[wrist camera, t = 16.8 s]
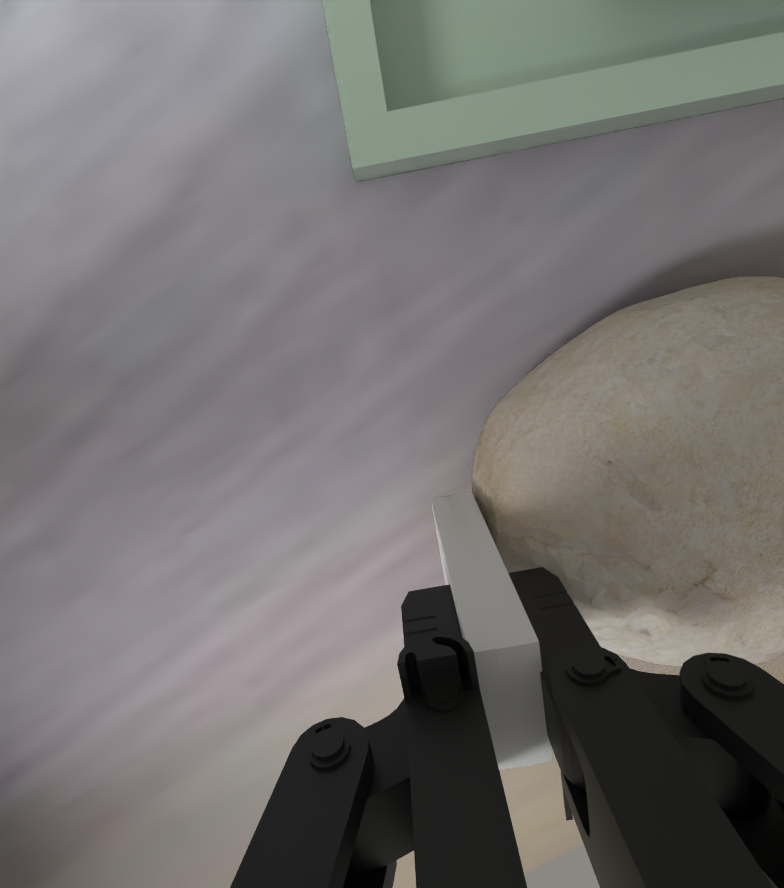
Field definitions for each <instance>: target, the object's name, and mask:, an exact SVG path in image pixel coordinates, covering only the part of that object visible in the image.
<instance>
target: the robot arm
mask: <svg viewBox="0 0 784 888" xmlns="http://www.w3.org/2000/svg"><path fill="white" fill-rule="evenodd" d="M431 504H432V510H433V515H434V521H435V527H436V533H437V539H438V544H439V550H440V556H441V562H442V568H443V573H444V579H445V584H446V585H444V586H438V587H432V588H427V589H421V590H415V591H410V592H408V594H407V596H406V598H405V600H404V602H403V604H402V606H401V609H402V621H403V634H404V648H403V650H402V651H401V652H400V654H399V659H398V663H397V665H398V669H399V674H400V679H401V683H402V688H403V693H404V699H403V701H402V702H401V704H400V705H399V706H398V708H397V709H396V710H394V711H393V712H392V713H391V714H390V715H389V716H387V717H385V718H384V719H382V720H380V721H378V722H376V723H374V724H372V725H370V726H368V727H365V728H364V727H362V726H361V725H360V724H359V723H357V722H356V721H355V720H351V719H347V718H343V717H339V718H331V719H326V720H324V721H321V722H319V723H317V724H315V725H313V726H311V727H310V728H309V729H308V730H307V731H305V732H304V733H303V734H302V735H301V736H300V737H299V739H298V740H297V742H296V743H295V745H294V746H293V748H292V750H291V752H290V754H289V757H288V759H287V761H286V763H285V766H284V768H283V770H282V772H281V775H280V777H279V779H278V781H277V784H276V786H275V788H274V790H273V793H272V795H271V797H270V799H269V801H268V804H267V806H266V808H265V810H264V813H263V815H262V817H261V819H260V822H259V824H258V826H257V828H256V831H255V833H254V835H253V837H252V840H251V842H250V844H249V846H248V849H247V851H246V853H245V855H244V858H243V860H242V862H241V864H240V867H239V869H238V871H237V873H236V876H235V878H234V880H233V882H232V885H231V887H230V888H392V887H393V882H394V876H395V871H396V864H397V859H399V858H401V857H403V856H405V855H406V854H408V853H410V852H412V851H413V850H414V854H415V871H416V888H527V885H526V881H525V877H524V873H523V868H522V864H521V860H520V856H519V852H518V847H517V843H516V839H515V835H514V831H513V826H512V822H511V818H510V814H509V810H508V805H507V801H506V797H505V793H504V789H503V784H502V780H501V776H500V772H499V770H502V769H508V768H518V767H523V766H529V765H535V764H541V763H547V762H553V761H552V752H551V746H552V749H553V751H554V754H555V757H556V759H557V762H558V764H559V767H560V769H561V778H562V788H563V797H564V806H565V813H566V820H572V819H573V816H574V819H575V822H576V824H577V827H578V830H579V832H580V835H581V838H582V840H583V843H584V846H585V848H586V851H587V853H588V856H589V859H590V862H591V864H592V867H593V870H594V872H595V875H596V877H597V880H598V883H599V886H600V888H784V684H783V683H781V682H780V681H778V680H777V679H775V678H774V677H773V676H771V675H770V674H768V673H767V672H765V671H764V670H763V669H761V668H760V667H758V666H756V665H754V664H752V663H750V662H749V661H747V660H745V659H743V658H739V657H736V656H732V655H728V654H723V653H704V654H699V655H695V656H692V657H691V658H690V659H688V660H687V661H685V662H684V663H683V665H682V668H681V670H680V676H679V675H666V674H653V673H646V672H640V671H636V670H633V669H630V668H629V667H628V666H627V664H626V663H625V662H624V661H623V660H622V659H621V658H620V657H619V656H618V655H617V654H615V653H613V652H611V651H609V650H607V649H605V648H602V647H601V646H600V645H599V643H598V642H597V640H596V638H595V637H594V635H593V633H592V632H591V630H590V628H589V627H588V625H587V623H586V622H585V620H584V619H583V617H582V615H581V614H580V612H579V610H578V609H577V607H576V605H574V602H573V600H572V599H571V597H570V595H569V594H567V591H566V589H565V587H564V586H563V584H562V582H561V581H560V579H559V577H557V576H556V575H554V574H553V573H551V572H550V571H548V570H547V569H545V568H543V567H539V568H533V569H528V570H522V571H516V572H511V573H508V572H507V569H506V567H505V565H504V563H503V560H502V558H501V556H500V554H499V552H498V549H497V547H496V545H495V543H494V540H493V538H492V536H491V534H490V532H489V529H488V527H487V525H486V523H485V520H484V518H483V516H482V514H481V512H480V509H479V507H478V505H477V503H476V500H475V498H474V496H473V494H472V492H466V493H460V494H454V495H448V496H443V497H437V498H431ZM572 814H573V816H572Z"/></svg>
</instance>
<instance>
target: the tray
mask: <svg viewBox="0 0 784 888" xmlns="http://www.w3.org/2000/svg"><path fill="white" fill-rule="evenodd" d="M322 5H323V10H324V16H325V21H326V27H327V32H328V38H329V43H330V49H331V54H332V60H333V65H334V71H335V76H336V82H337V87H338V93H339V98H340V104H341V109H342V115H343V120H344V126H345V131H346V137H347V142H348V148H349V153H350V159H351V164H352V169H353V172H354V175H355V178H356V181H357V182H359V181H365V180H370V179H375V178H380V177H385V176H390V175H395V174H400V173H405V172H411V171H416V170H421V169H426V168H431V167H436V166H441V165H446V164H451V163H456V162H462V161H467V160H472V159H477V158H482V157H487V156H492V155H497V154H502V153H507V152H513V151H518V150H523V149H528V148H533V147H538V146H543V145H548V144H553V143H559V142H564V141H569V140H574V139H579V138H584V137H589V136H594V135H599V134H604V133H610V132H615V131H620V130H625V129H630V128H635V127H640V126H645V125H650V124H655V123H661V122H666V121H671V120H676V119H681V118H686V117H691V116H696V115H701V114H707V113H712V112H717V111H722V110H727V109H732V108H737V107H742V106H747V105H752V104H758V103H763V102H768V101H773V100H778V99H783V98H784V0H322Z"/></svg>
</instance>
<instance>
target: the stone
mask: <svg viewBox="0 0 784 888" xmlns="http://www.w3.org/2000/svg"><path fill="white" fill-rule="evenodd" d="M472 494H473V496H474V498H475V500H476V503H477V505H478V507H479V509H480V512H481V514H482V516H483V518H484V520H485V523H486V525H487V527H488V529H489V532H490V534H491V536H492V538H493V540H494V543H495V545H496V547H497V549H498V552H499V554H500V556H501V558H502V560H503V563H504V565H505V567H506V569H507V572H508V573H511V572H516V571H522V570H528V569H533V568H539V567H543V568H545V569H547V570H548V571H550V572H551V573H553V574H554V575H556V576H557V577H559V579H560V581H561V582H562V584H563V586H564V587H565V589H566V591H567V594H569V595H570V597H571V599H572V600H573V602H574V605H576V607H577V609H578V610H579V612H580V614H581V615H582V617H583V619H584V620H585V622H586V623H587V625H588V627H589V628H590V630H591V632H592V633H593V635H594V637H595V638H596V640H597V642H598V643H599V645H600V646H601V647H602V648H605V649H607V650H609V651H611V652H614V653H617V654H620V655H622V656H626V657H630V658H636V659H640V660H644V661H647V662H651V663H655V664H664V665H669V666H682V665H683V663H684V662H685V661H687V660H688V659H690V658H691V657H692V656H695V655H699V654H704V653H723V654H728V655H732V656H736V657H739V658H743V659H745V660H747V661H749V662H750V663H752V664H757V663H761V662H764V661H768V660H772V659H774V658H776V657H778V656H779V655H781V654H783V653H784V278H780V277H774V276H745V277H734V278H728V279H721V280H717V281H713V282H709V283H705V284H701V285H698V286H694V287H690V288H686V289H683V290H680V291H677V292H675V293H672V294H668V295H664V296H661V297H657V298H654V299H651V300H647V301H644V302H640V303H637V304H634V305H631V306H628V307H626V308H623V309H620V310H618V311H616V312H615V313H613V314H611V315H609V316H608V317H606V318H604V319H602V320H601V321H599V322H597V323H595V324H594V325H592V326H591V327H590V328H588V329H587V330H585V331H584V332H583V333H581V334H580V335H578V336H577V337H575V338H574V339H572V340H571V341H569V342H568V343H566V344H565V345H563V346H562V347H560V348H559V349H558V350H557V351H555V352H554V353H553V354H551V355H550V356H549V357H548V358H546V359H545V360H544V361H543V362H541V363H540V364H539V365H538V366H536V367H535V368H534V369H533V370H532V371H530V372H529V373H528V374H527V375H526V376H525V377H524V378H523V379H522V380H520V381H519V382H518V383H517V384H516V385H515V386H514V387H513V388H512V389H511V390H510V391H509V392H508V393H507V394H506V395H505V396H504V397H503V398H502V399H501V400H500V401H499V402H498V403H497V404H496V405H495V407H494V408H493V410H492V411H491V412H490V414H489V415H488V417H487V419H486V422H485V424H484V427H483V430H482V432H481V435H480V438H479V443H478V445H477V448H476V451H475V456H474V461H473V466H472Z"/></svg>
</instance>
